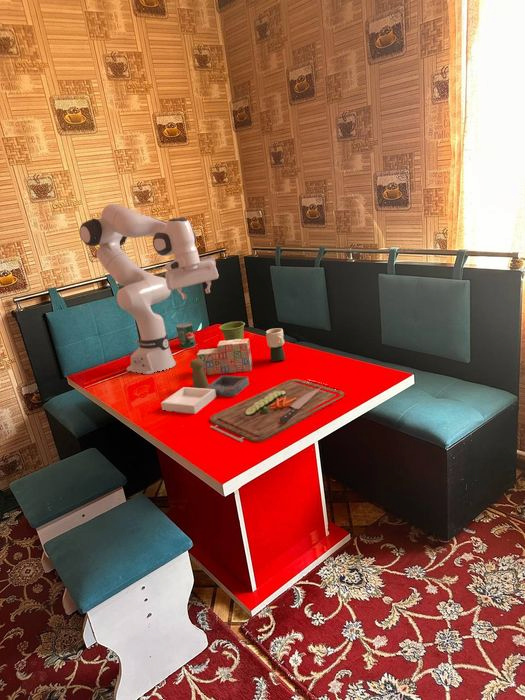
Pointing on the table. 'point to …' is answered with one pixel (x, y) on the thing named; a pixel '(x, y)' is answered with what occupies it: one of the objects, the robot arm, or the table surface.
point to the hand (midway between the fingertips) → (196, 296)
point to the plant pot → (233, 330)
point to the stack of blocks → (227, 357)
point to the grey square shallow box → (228, 385)
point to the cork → (198, 374)
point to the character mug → (275, 344)
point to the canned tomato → (186, 335)
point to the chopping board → (273, 410)
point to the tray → (188, 400)
